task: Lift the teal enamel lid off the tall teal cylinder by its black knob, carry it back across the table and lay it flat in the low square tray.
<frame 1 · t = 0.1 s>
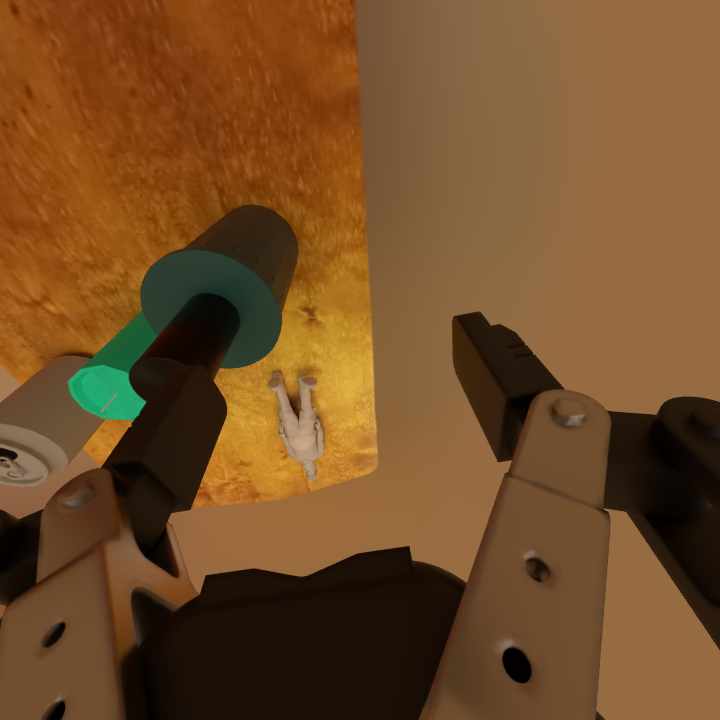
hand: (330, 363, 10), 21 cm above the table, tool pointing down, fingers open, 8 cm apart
candle: (171, 327, 33), on the table
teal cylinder: (259, 247, 28), on the table
pan lid: (216, 312, 18), point 12 cm above the table, touching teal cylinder
can: (92, 376, 36), on the table
figurine: (304, 419, 42), on the table
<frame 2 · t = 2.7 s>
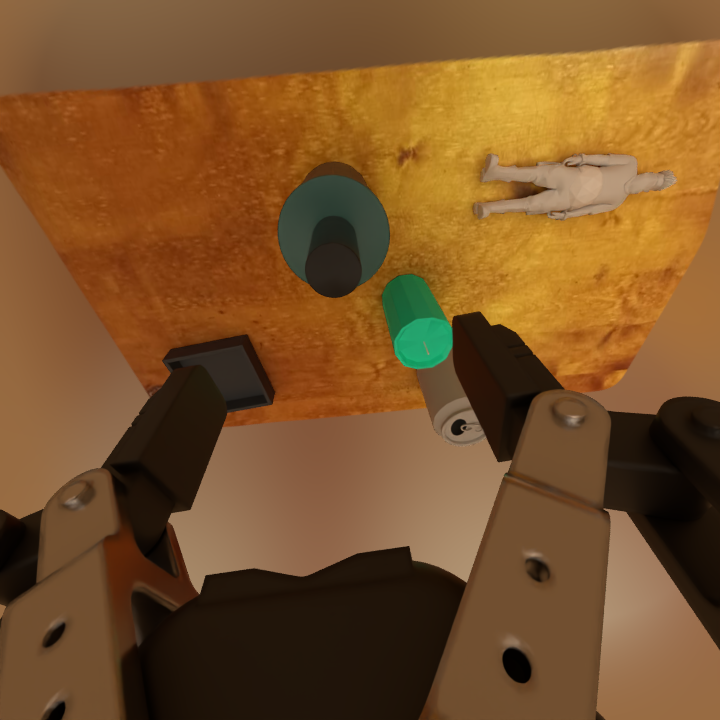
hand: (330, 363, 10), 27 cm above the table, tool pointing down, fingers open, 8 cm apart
candle: (405, 296, 39), on the table
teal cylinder: (335, 202, 32), on the table
pan lid: (334, 237, 22), point 12 cm above the table, touching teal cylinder
can: (440, 365, 46), on the table
square tray: (226, 372, 44), on the table
figurine: (559, 181, 32), on the table
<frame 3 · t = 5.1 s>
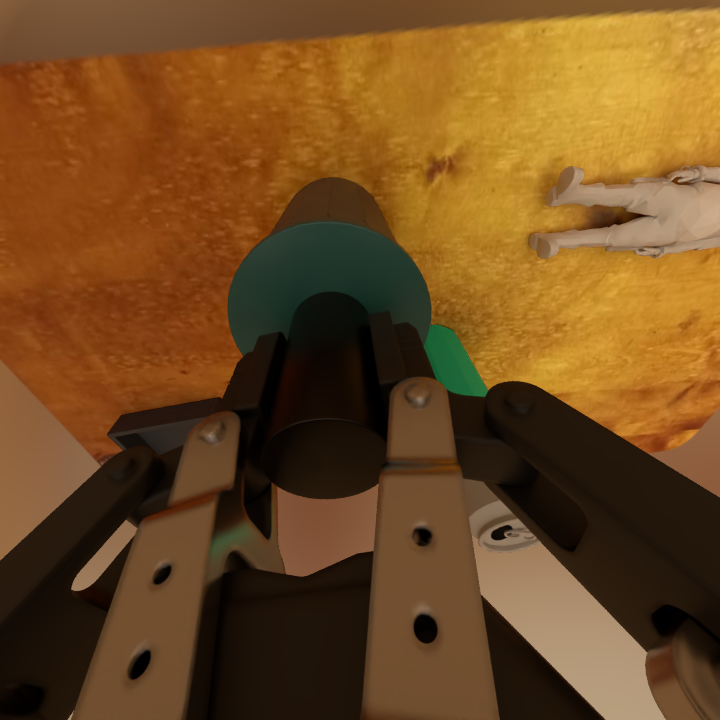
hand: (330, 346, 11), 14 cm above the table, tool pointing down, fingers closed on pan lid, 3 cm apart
candle: (427, 351, 29), on the table
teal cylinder: (335, 233, 22), on the table
pan lid: (332, 321, 12), point 13 cm above the table, touching gripper, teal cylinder
can: (468, 427, 36), on the table
square tray: (195, 439, 34), on the table
figurine: (654, 203, 22), on the table
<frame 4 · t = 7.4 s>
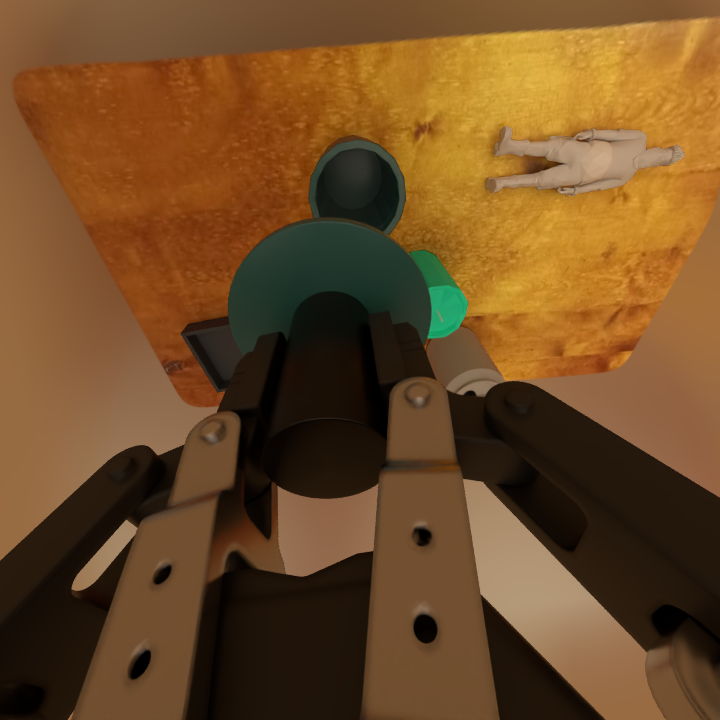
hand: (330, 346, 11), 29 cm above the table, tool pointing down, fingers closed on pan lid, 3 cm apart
candle: (417, 273, 40), on the table
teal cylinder: (352, 176, 33), on the table
pan lid: (332, 320, 12), point 27 cm above the table, touching gripper
can: (450, 344, 47), on the table
square tray: (240, 348, 45), on the table
figurine: (570, 157, 33), on the table
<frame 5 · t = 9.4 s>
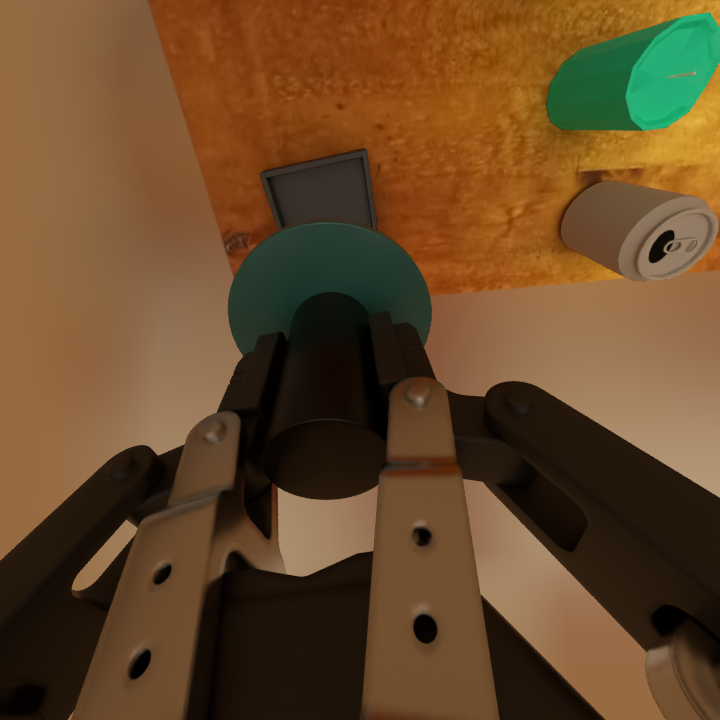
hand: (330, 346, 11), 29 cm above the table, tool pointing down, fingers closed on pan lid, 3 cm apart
candle: (577, 91, 30), on the table
pan lid: (332, 321, 12), point 27 cm above the table, touching gripper
can: (588, 215, 37), on the table
square tray: (326, 214, 35), on the table
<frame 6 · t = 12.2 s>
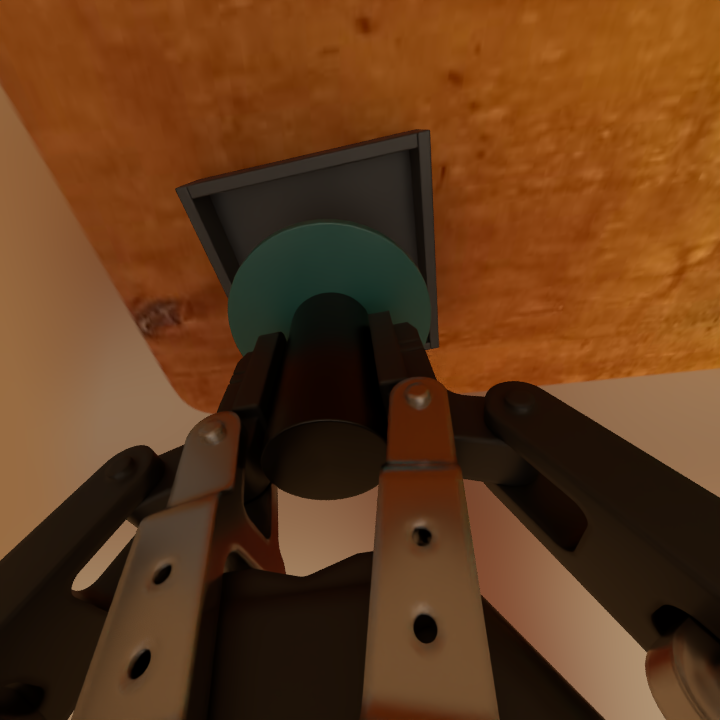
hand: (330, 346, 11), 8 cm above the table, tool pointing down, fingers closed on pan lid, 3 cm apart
pan lid: (332, 322, 12), point 7 cm above the table, touching gripper
square tray: (331, 264, 18), on the table
when the fingers open (3 cm above the table, at t = 14.0 s): pan lid stays where it is, resting on square tray.
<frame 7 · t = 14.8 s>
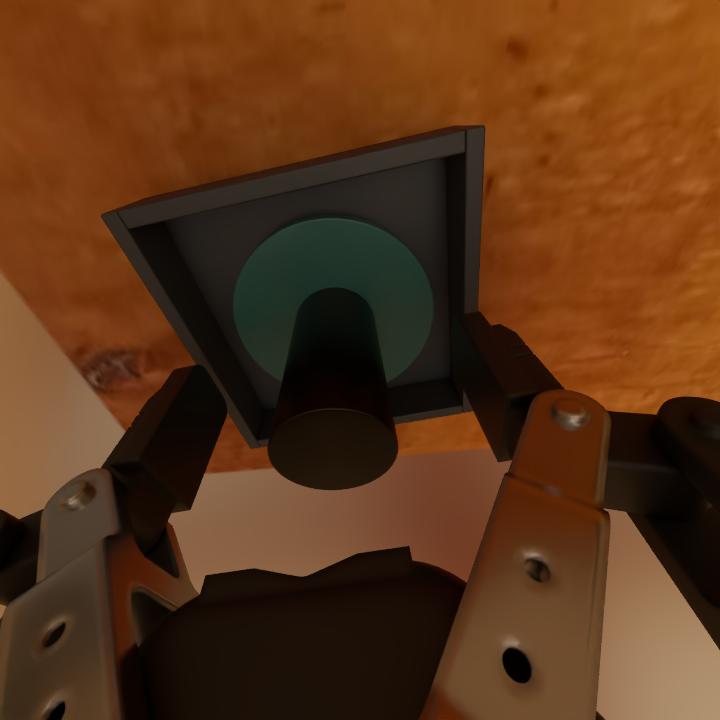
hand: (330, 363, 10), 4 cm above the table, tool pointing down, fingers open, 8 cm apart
pan lid: (335, 317, 12), point 1 cm above the table, touching square tray
square tray: (333, 305, 13), on the table
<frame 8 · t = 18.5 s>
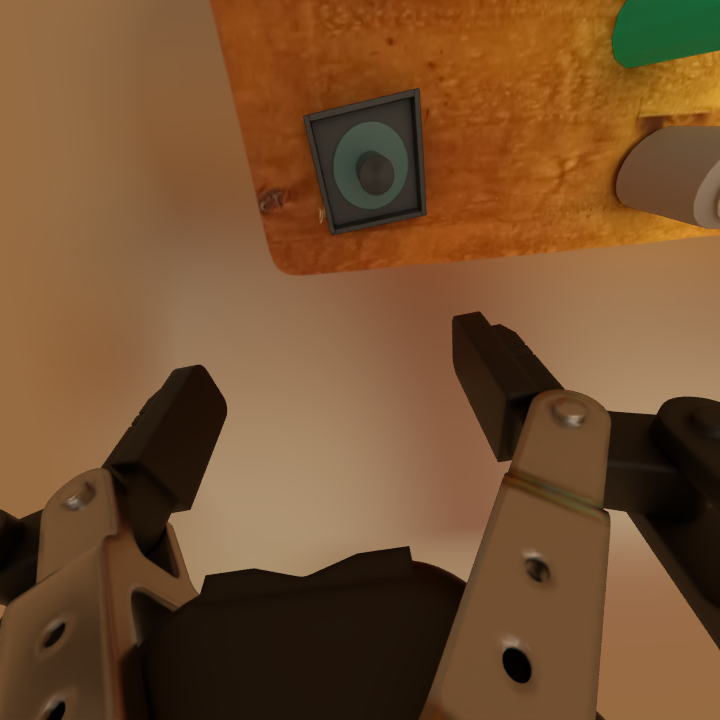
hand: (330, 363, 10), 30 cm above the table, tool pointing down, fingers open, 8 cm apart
candle: (646, 22, 28), on the table
pan lid: (370, 168, 32), point 1 cm above the table, touching square tray
can: (645, 168, 34), on the table
square tray: (368, 167, 33), on the table
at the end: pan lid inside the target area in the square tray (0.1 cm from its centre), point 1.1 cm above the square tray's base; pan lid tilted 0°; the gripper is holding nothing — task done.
